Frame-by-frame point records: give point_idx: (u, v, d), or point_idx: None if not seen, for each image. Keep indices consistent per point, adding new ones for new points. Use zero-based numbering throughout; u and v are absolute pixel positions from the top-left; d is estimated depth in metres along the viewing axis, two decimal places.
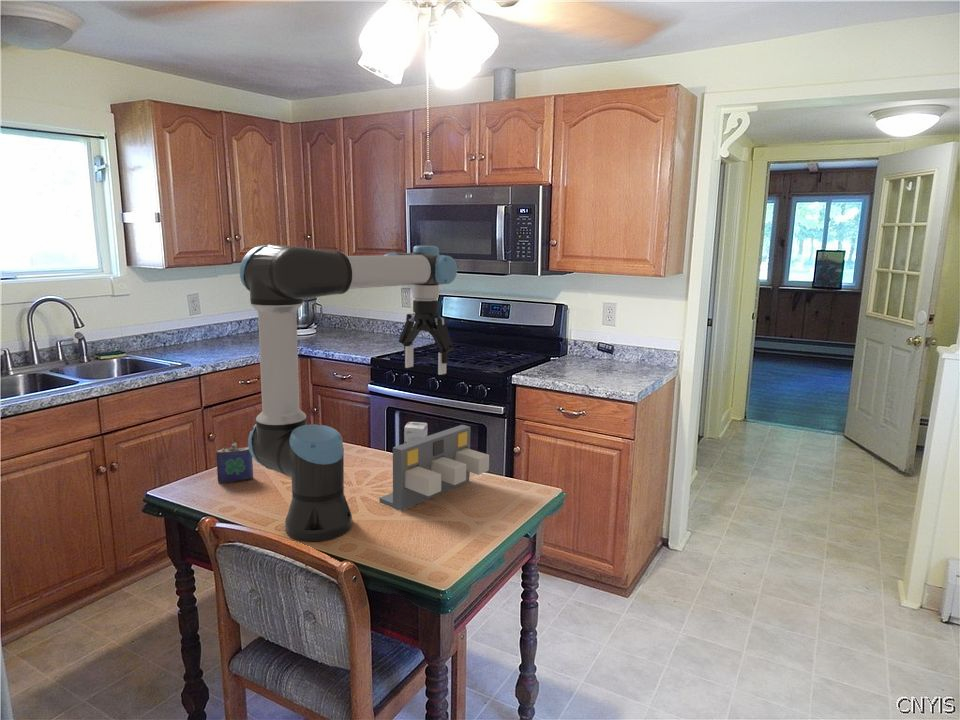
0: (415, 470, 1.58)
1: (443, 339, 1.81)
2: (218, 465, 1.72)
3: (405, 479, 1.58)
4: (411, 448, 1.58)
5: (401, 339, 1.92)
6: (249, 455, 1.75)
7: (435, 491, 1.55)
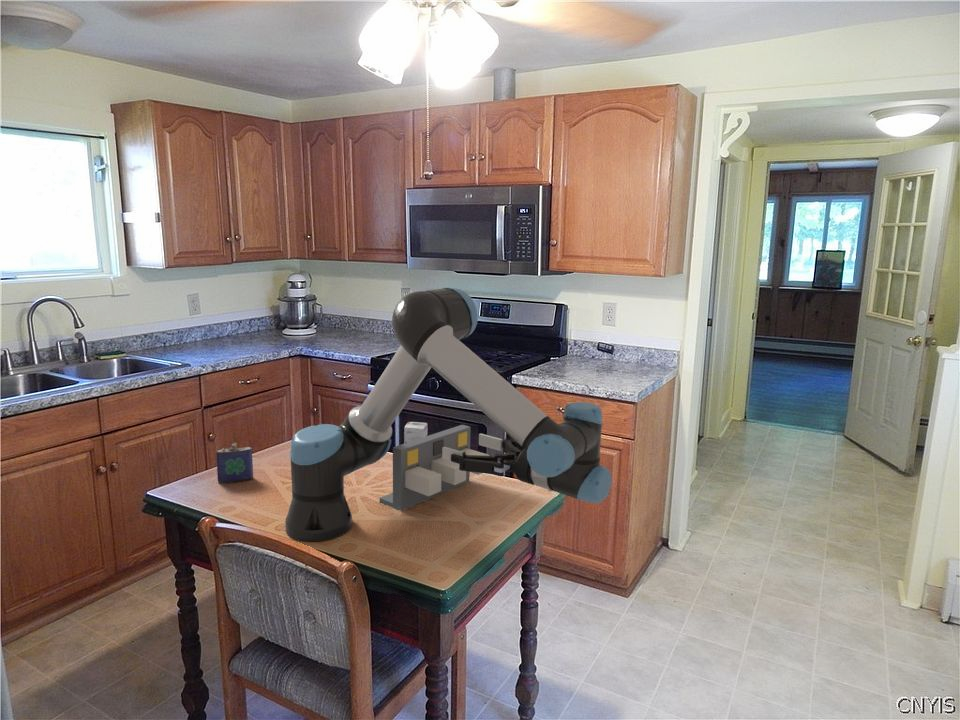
0: (415, 470, 1.58)
1: (475, 460, 1.34)
2: (218, 465, 1.72)
3: (405, 479, 1.58)
4: (411, 448, 1.58)
5: (513, 439, 1.49)
6: (249, 455, 1.75)
7: (435, 491, 1.55)
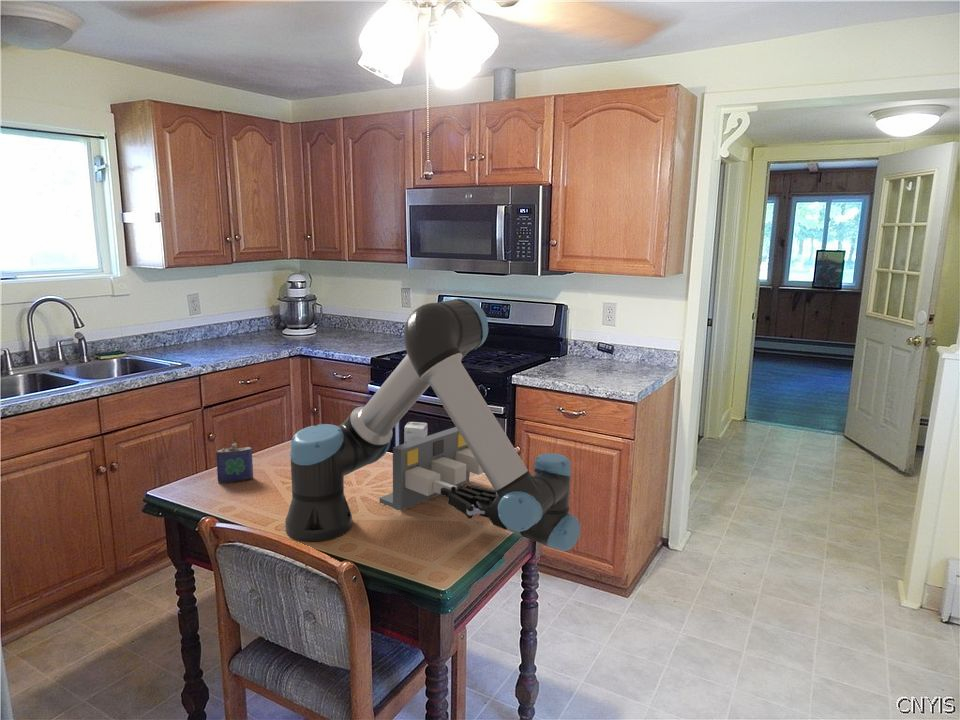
0: (414, 470, 1.58)
1: (458, 497, 1.45)
2: (218, 465, 1.72)
3: (404, 479, 1.58)
4: (411, 448, 1.58)
5: (470, 486, 1.52)
6: (249, 455, 1.75)
7: None
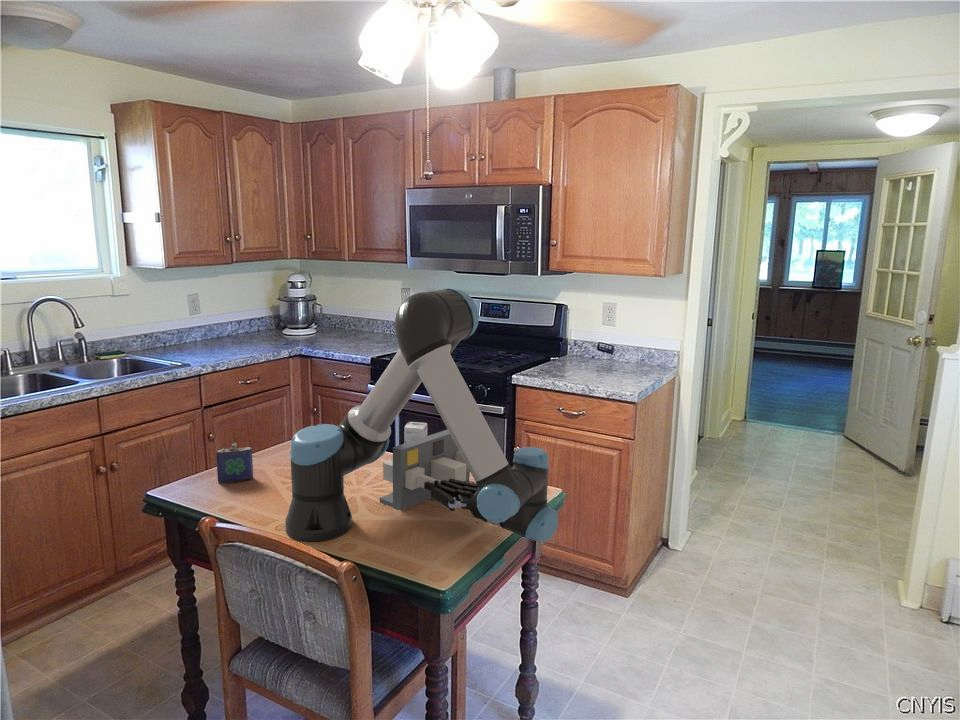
0: None
1: (440, 491, 1.48)
2: (218, 465, 1.72)
3: (389, 473, 1.62)
4: (411, 448, 1.58)
5: (453, 480, 1.55)
6: (249, 455, 1.75)
7: None
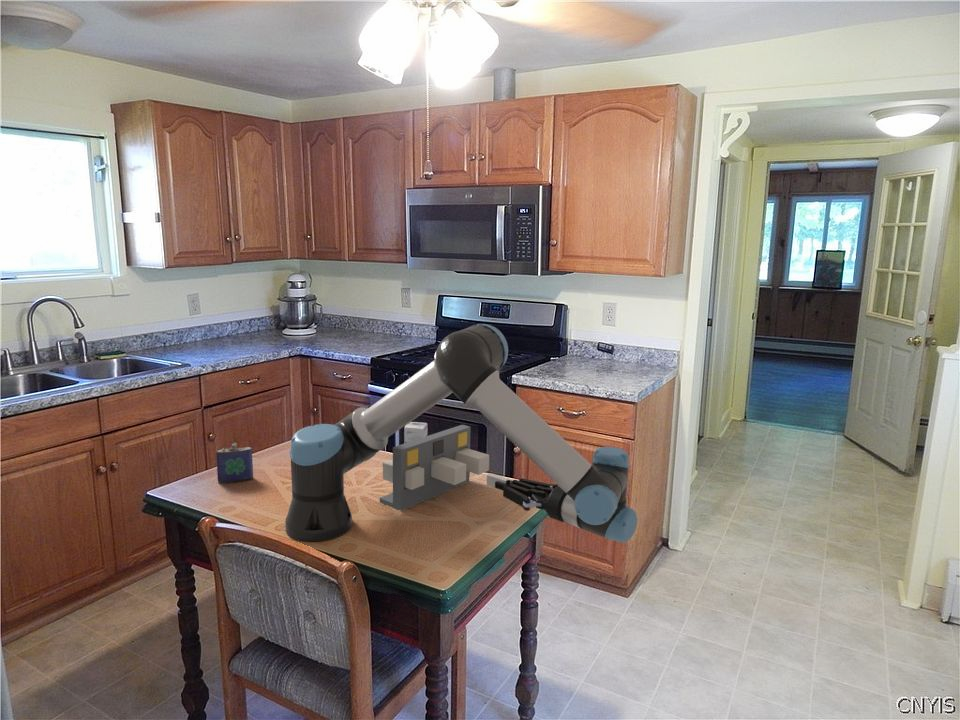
0: None
1: (513, 490, 1.48)
2: (218, 465, 1.72)
3: (389, 473, 1.62)
4: (411, 448, 1.58)
5: (523, 480, 1.55)
6: (249, 455, 1.75)
7: (418, 485, 1.59)
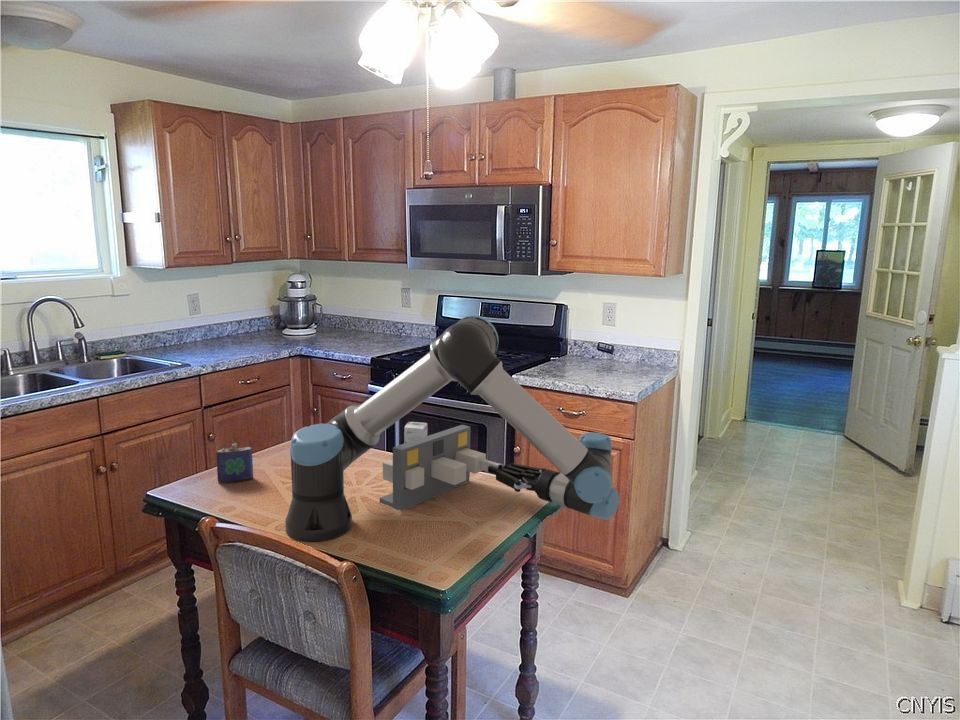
0: None
1: (505, 474, 1.60)
2: (218, 465, 1.72)
3: (389, 473, 1.62)
4: (411, 448, 1.58)
5: (514, 465, 1.67)
6: (249, 455, 1.75)
7: (418, 485, 1.59)
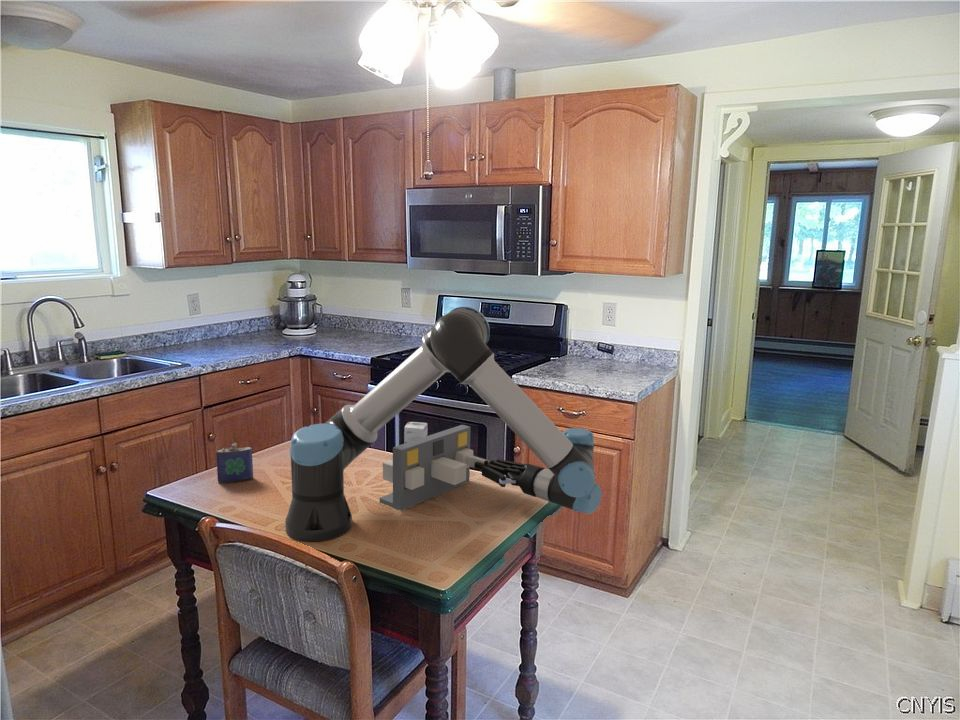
0: None
1: (491, 469, 1.63)
2: (218, 465, 1.72)
3: (389, 473, 1.62)
4: (411, 448, 1.58)
5: (500, 460, 1.69)
6: (249, 455, 1.75)
7: (418, 485, 1.59)
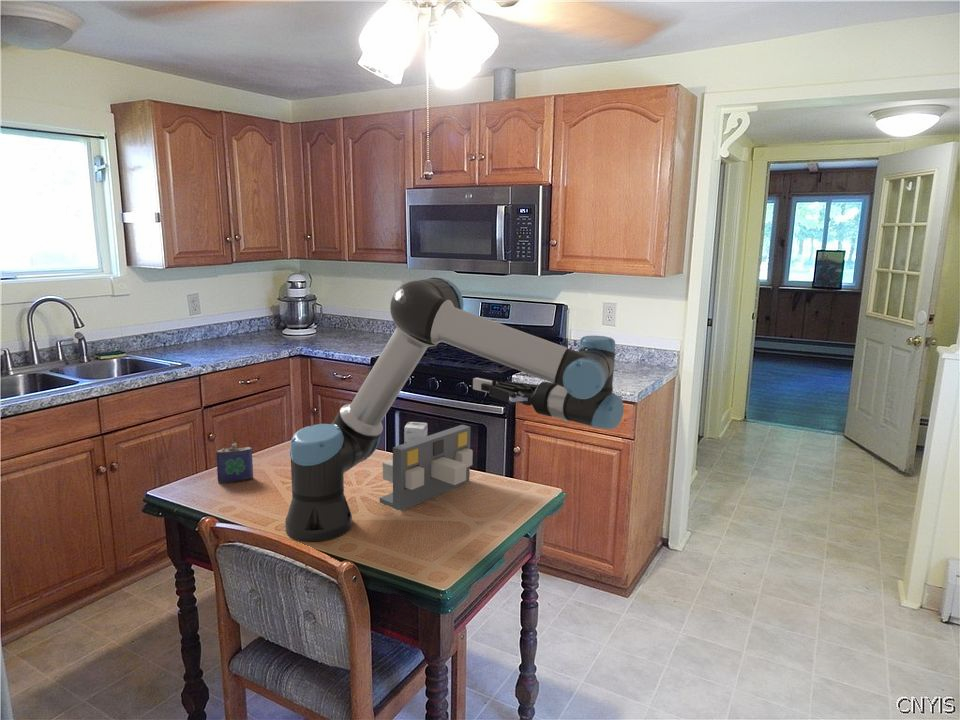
0: None
1: (499, 388, 1.48)
2: (218, 465, 1.72)
3: (389, 473, 1.62)
4: (411, 448, 1.58)
5: (510, 382, 1.54)
6: (249, 455, 1.75)
7: (418, 485, 1.59)
